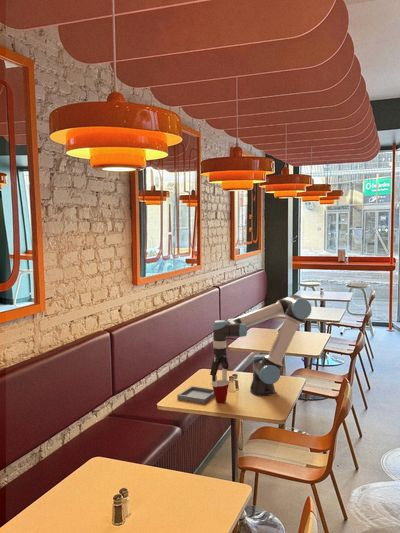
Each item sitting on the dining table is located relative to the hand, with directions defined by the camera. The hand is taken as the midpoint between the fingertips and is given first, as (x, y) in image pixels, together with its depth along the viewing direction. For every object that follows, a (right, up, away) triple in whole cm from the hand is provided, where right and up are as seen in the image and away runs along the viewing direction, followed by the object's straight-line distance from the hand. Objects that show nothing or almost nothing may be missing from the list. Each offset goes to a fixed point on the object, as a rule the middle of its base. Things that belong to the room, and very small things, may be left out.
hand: (219, 383), depth 287 cm
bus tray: (-13, -11, +10) cm, 19 cm away
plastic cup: (+1, -12, +1) cm, 12 cm away
